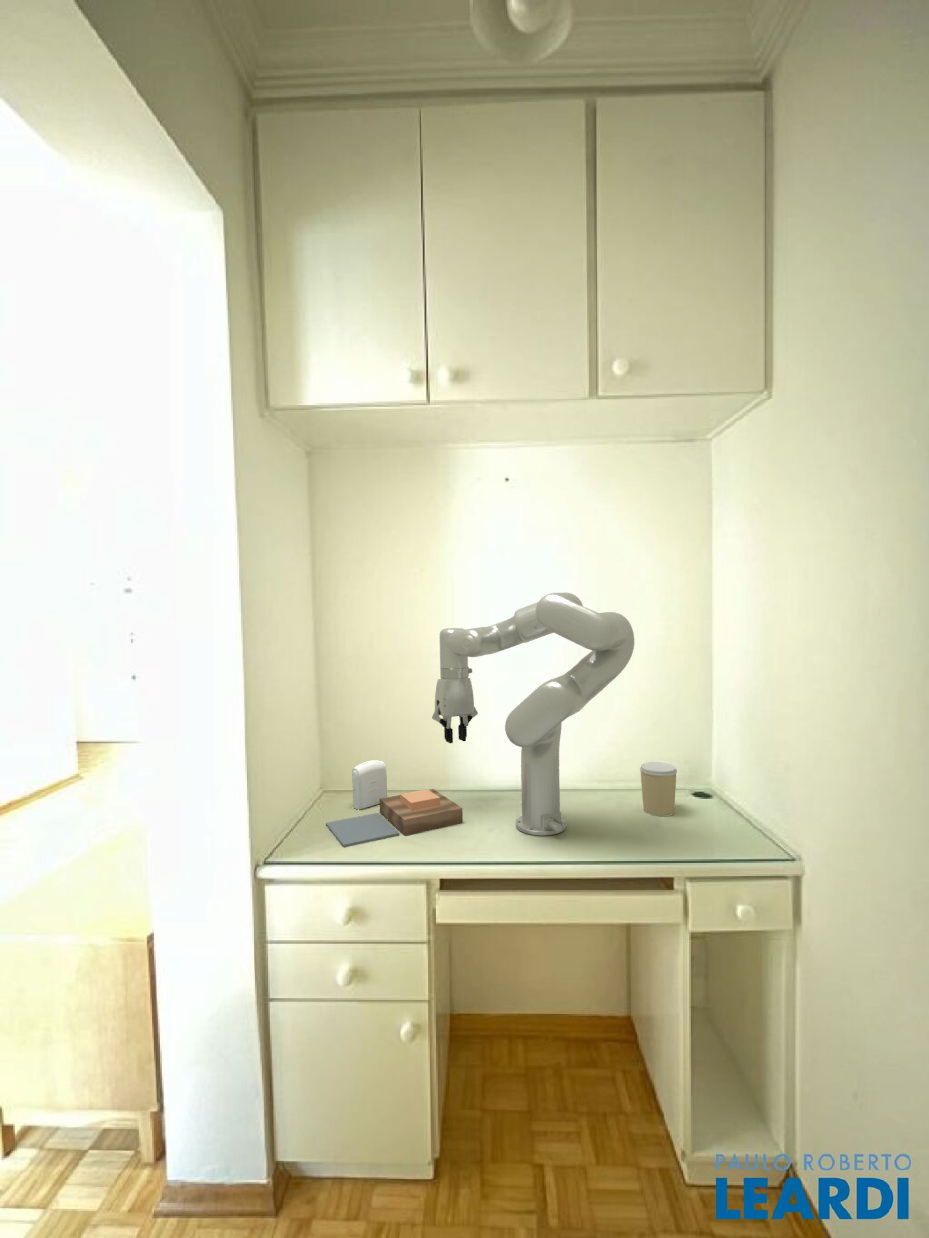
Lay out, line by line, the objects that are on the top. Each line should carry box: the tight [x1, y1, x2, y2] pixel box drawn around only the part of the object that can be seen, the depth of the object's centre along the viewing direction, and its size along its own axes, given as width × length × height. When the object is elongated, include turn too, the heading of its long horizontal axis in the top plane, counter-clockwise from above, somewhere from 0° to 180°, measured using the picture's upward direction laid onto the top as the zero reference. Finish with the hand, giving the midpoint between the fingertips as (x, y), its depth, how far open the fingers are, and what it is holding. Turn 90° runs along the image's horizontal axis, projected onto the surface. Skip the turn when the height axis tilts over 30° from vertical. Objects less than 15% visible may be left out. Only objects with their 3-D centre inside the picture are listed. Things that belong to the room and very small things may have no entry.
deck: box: [379, 788, 464, 837], centre depth 159 cm, size 18×16×4 cm
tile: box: [399, 788, 440, 811], centre depth 159 cm, size 8×8×2 cm
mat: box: [325, 812, 400, 848], centre depth 152 cm, size 16×14×1 cm
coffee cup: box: [639, 761, 678, 817], centre depth 161 cm, size 9×9×12 cm
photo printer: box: [351, 759, 388, 810], centre depth 171 cm, size 10×4×12 cm, turn 133°
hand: (455, 740), depth 164 cm, fingers open, 3 cm apart
